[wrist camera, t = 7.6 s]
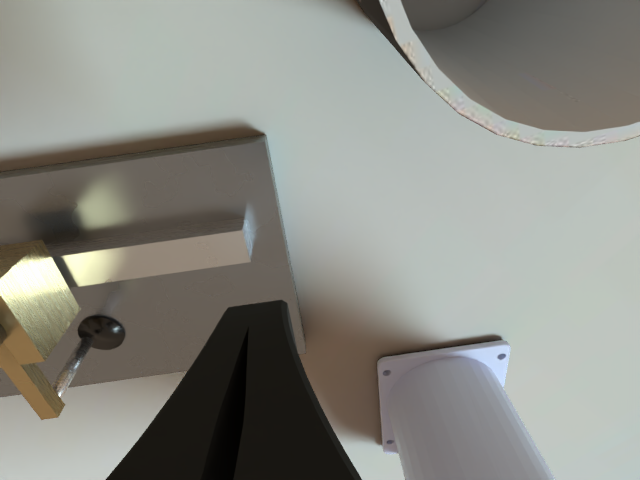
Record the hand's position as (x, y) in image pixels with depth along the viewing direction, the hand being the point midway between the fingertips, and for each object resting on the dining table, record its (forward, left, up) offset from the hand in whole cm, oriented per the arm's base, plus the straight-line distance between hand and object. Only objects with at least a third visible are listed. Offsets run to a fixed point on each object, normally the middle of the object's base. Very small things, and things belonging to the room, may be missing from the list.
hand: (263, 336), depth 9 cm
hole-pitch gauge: (-4, +11, -10) cm, 15 cm away
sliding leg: (-4, +11, -8) cm, 14 cm away
